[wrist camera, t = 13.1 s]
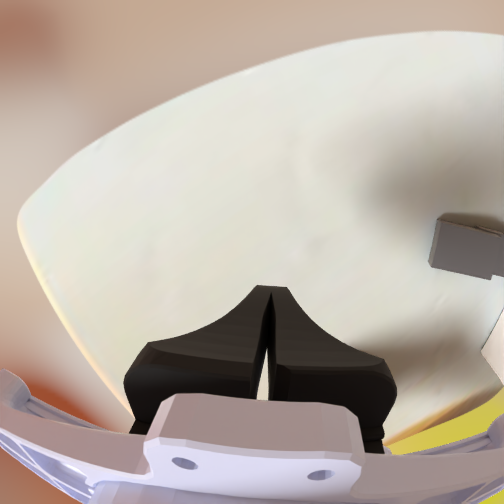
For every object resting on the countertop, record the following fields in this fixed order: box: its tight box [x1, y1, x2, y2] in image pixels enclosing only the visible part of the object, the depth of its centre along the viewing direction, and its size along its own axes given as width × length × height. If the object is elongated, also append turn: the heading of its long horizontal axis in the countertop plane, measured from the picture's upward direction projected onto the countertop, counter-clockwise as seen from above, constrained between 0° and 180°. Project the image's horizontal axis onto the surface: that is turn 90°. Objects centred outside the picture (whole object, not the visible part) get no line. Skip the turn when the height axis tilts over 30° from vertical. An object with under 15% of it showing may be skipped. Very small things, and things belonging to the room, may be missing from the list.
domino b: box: [475, 225, 504, 277], centre depth 18 cm, size 4×2×6 cm
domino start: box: [428, 219, 502, 280], centre depth 18 cm, size 4×2×6 cm
